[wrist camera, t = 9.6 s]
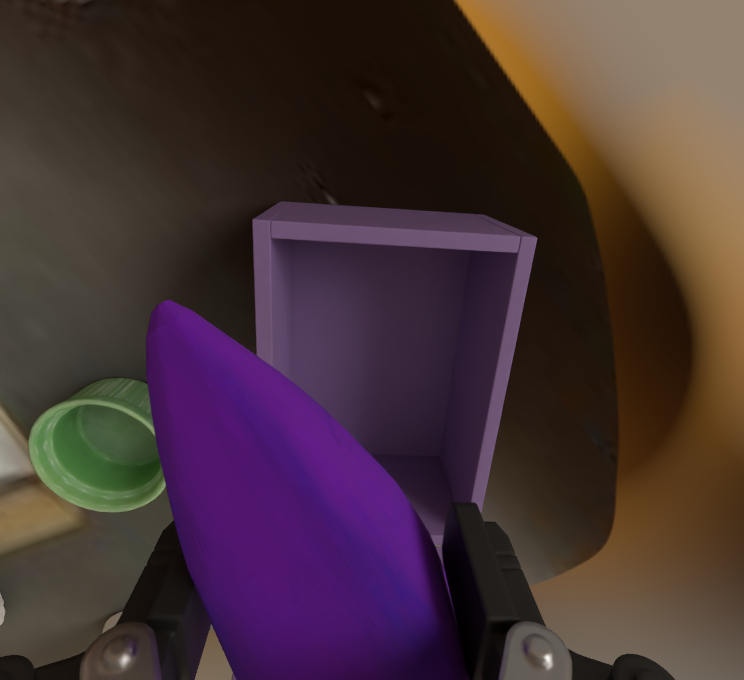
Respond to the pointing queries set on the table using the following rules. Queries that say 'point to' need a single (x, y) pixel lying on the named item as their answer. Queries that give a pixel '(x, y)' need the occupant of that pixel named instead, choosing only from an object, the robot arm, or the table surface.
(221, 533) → the purple teardrop shape
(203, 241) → the table surface
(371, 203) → the table surface
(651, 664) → the robot arm
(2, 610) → the supplement can
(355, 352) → the file box
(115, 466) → the ramekin
